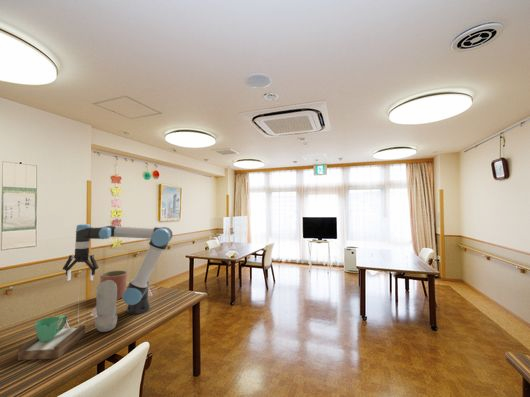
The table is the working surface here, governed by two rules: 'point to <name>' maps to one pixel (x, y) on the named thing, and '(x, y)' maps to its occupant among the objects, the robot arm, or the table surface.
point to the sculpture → (106, 306)
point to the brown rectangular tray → (51, 345)
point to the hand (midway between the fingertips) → (80, 280)
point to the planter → (116, 280)
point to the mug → (49, 328)
